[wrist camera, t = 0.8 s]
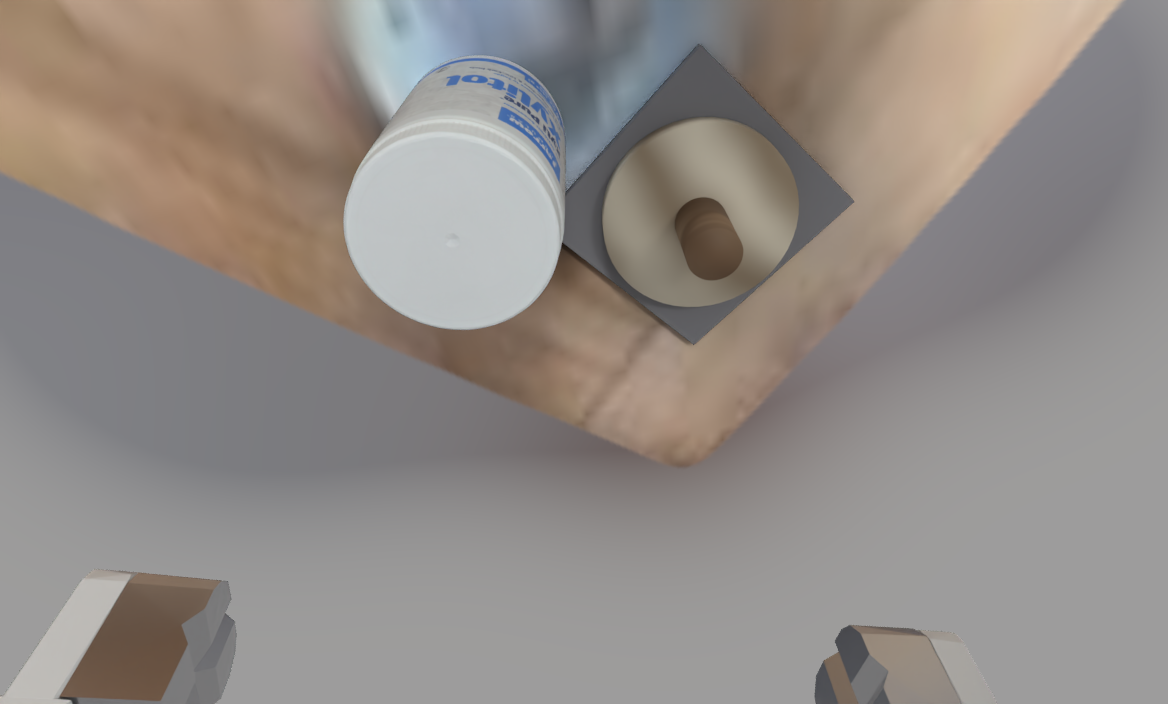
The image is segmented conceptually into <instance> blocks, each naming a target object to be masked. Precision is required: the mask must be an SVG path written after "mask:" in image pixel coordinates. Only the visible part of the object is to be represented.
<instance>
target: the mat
mask: <svg viewBox="0 0 1168 704" xmlns="http://www.w3.org/2000/svg"><path fill="white" fill-rule="evenodd" d="M695 117H719V118H726V119H730V120H733V121H737V122H740V123H742V124H744V125H747V126H749V127H751V128H753V129H754V130H756V131H757V132H759V133H761V134H762V135H763V136H764V137H765V138H766V139H768V140H769V141H770V142H771V143H772V145H773V146H774V147H775V148H776V149H777V150H778V152H779V153H780V154H781V155H782V157H783V158H784V159H785V161H786V163H787V164H788V166H789V167H790V169H791V172H792V174H793V176H794V179H795V182H796V186H797V190H798V198H799V215H798V221H797V227H796V230H795V233H794V236H793V239H792V241H791V243H790V246H789V248H788V250H787V251H786V253H785V255H784V256H783V258H782V260H781V261H780V262H779V263H778V265H777V266H776V267H775V268H774V270H773V271H772V272H771V273H770V274H769V275H768V276H767V277H766V278H765V279H763V280H762V281H761V282H760V283H758V284H757V285H756V286H755V287H753V288H751V289H750V290H748V291H747V292H745V293H743V294H741V295H739V296H737V297H735V298H733V299H730V300H727V301H725V302H722V303H718V304H714V305H709V306H701V307H681V306H673V305H669V304H664V303H661V302H658V301H656V300H653V299H651V298H649V297H647V296H645V295H643V294H641V293H640V292H638V291H637V290H636V289H634V288H633V287H632V286H631V285H630V284H628V283H627V282H626V281H625V280H624V279H623V277H622V276H621V275H620V274H619V273H618V271H617V270H616V268H615V266H614V265H613V263H612V261H611V259H610V256H609V254H608V252H607V248H606V244H605V240H604V233H603V226H602V206H603V199H604V195H605V191H606V188H607V185H608V182H609V180H610V178H611V176H612V173H613V172H614V170H615V169H616V167H617V165H618V164H619V162H620V161H621V160H622V158H623V157H624V156H625V155H626V153H627V152H628V151H629V150H630V149H631V148H632V147H633V146H634V145H635V144H636V143H637V142H639V141H640V140H641V139H643V138H644V137H645V136H647V135H648V134H650V133H652V132H653V131H655V130H657V129H659V128H660V127H663V126H665V125H668V124H670V123H672V122H676V121H680V120H683V119H688V118H695ZM853 202H854V201H853V199H852V198H851V197H850V196H849V195H848V194H847V193H846V192H845V191H844V190H843V189H842V188H841V187H840V186H839V185H838V184H837V183H836V182H835V181H834V180H833V179H832V178H831V177H830V176H829V175H828V174H827V173H826V172H825V171H824V170H823V169H822V168H821V167H820V166H819V165H818V164H817V163H816V162H815V161H814V160H813V159H812V158H811V157H810V156H809V155H808V154H807V153H806V152H805V151H804V150H803V149H802V148H801V147H800V145H799V144H798V143H797V142H796V141H795V140H794V139H793V138H792V137H791V136H790V135H789V134H788V133H787V132H786V131H785V130H784V129H783V128H782V127H781V126H780V125H779V124H778V123H777V122H776V121H775V120H774V119H773V118H772V117H771V116H770V115H769V114H768V113H767V112H766V111H765V110H764V109H763V108H762V107H761V106H760V105H759V104H758V103H757V102H756V101H755V100H754V99H753V98H752V97H751V96H750V95H749V94H748V93H747V92H746V91H745V90H744V89H743V88H742V87H741V86H740V84H739V83H738V82H737V81H736V80H735V79H734V78H733V77H732V76H731V75H730V74H729V73H728V72H727V71H726V70H725V69H724V68H723V67H722V66H721V65H720V64H719V63H718V62H717V61H716V60H715V59H714V58H713V57H712V56H711V55H710V54H709V53H708V52H707V51H706V50H705V49H704V48H703V47H702V46H701V45H700V44H698V45H697V47H696V48H695V49H694V50H693V51H692V52H691V53H690V54H689V56H688V57H687V58H686V59H685V60H684V61H683V62H682V63H681V64H680V66H679V67H678V68H677V69H676V70H675V71H674V72H673V73H672V74H671V76H670V77H669V78H668V79H667V80H666V81H665V82H664V83H663V85H662V86H661V87H660V88H659V89H658V90H657V91H656V92H655V93H654V95H653V96H652V97H651V98H650V99H649V100H648V101H647V102H646V104H645V105H644V106H643V107H642V108H641V109H640V110H639V111H638V112H637V114H636V115H635V116H634V117H633V118H632V119H631V120H630V121H629V122H628V124H627V125H626V126H625V127H624V128H623V129H622V130H621V131H620V133H619V134H618V135H617V136H616V137H615V138H614V139H613V140H612V141H611V143H610V144H609V145H608V146H607V147H606V148H605V149H604V150H603V152H602V153H601V154H600V155H599V156H598V157H597V158H596V159H595V160H594V162H593V163H592V164H591V165H590V166H589V167H588V168H587V169H586V170H585V172H584V173H583V174H582V175H581V176H580V177H579V178H578V179H577V181H576V182H575V183H574V184H573V185H572V186H571V187H570V188H569V189H568V191H567V192H566V193H565V223H564V235H563V241H562V242H563V243H564V244H565V245H566V246H568V247H569V248H570V249H572V250H573V251H574V252H575V253H577V254H578V255H579V256H581V257H582V258H583V259H584V260H586V261H587V262H588V263H590V264H591V265H592V266H593V267H595V268H596V269H597V270H599V271H600V272H601V273H602V274H604V275H605V276H606V277H608V278H609V279H610V280H611V281H613V282H614V283H615V284H616V285H618V286H619V287H620V288H622V289H623V290H624V291H625V292H627V293H628V294H629V295H631V296H632V297H633V298H634V299H636V300H637V301H638V302H640V303H641V304H642V305H643V306H645V307H646V308H647V309H649V310H650V311H651V312H652V313H654V314H655V315H656V316H657V317H659V318H660V319H661V320H663V321H664V322H665V323H666V324H668V325H669V326H670V327H672V328H673V329H674V330H675V331H677V332H678V333H679V334H681V335H682V336H683V337H684V338H686V339H687V340H688V341H690V342H691V343H692V344H693V345H694V344H695V343H697V342H698V341H699V340H700V339H701V338H702V337H703V336H704V335H706V334H707V333H708V332H709V331H710V330H711V329H712V328H713V327H714V326H716V325H717V324H718V323H719V322H720V321H721V320H722V319H723V318H725V317H726V316H727V315H728V314H729V313H730V312H731V311H732V310H734V309H735V308H736V307H737V306H738V305H739V304H740V303H741V302H742V301H744V300H745V299H746V298H747V297H748V296H749V295H750V294H751V293H753V292H754V291H755V290H756V289H757V288H758V287H759V286H760V285H762V284H763V283H764V282H765V281H766V280H767V279H768V278H769V277H771V276H772V275H773V274H774V273H775V272H776V271H777V270H778V269H779V268H781V267H782V266H783V265H784V264H785V263H786V262H787V261H788V260H790V259H791V258H792V257H793V256H794V255H795V254H796V253H797V252H799V251H800V250H801V249H802V248H803V247H804V246H805V245H806V244H807V243H809V242H810V241H811V240H812V239H813V238H814V237H815V236H816V235H818V234H819V233H820V232H821V231H822V230H823V229H824V228H825V227H827V226H828V225H829V224H830V223H831V222H832V221H833V220H834V219H835V218H837V217H838V216H839V215H840V214H841V213H842V212H843V211H844V210H846V209H847V208H848V207H849V206H850V205H851V204H852V203H853Z"/></svg>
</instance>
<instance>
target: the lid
mask: <svg viewBox="0 0 1168 704" xmlns="http://www.w3.org/2000/svg"><path fill="white" fill-rule="evenodd" d="M798 215H799V198H798V190H797V186H796V182H795V179H794V176H793V174H792V172H791V169H790V167H789V166H788V164H787V163H786V161H785V159H784V158H783V157H782V155H781V154H780V153H779V152H778V150H777V149H776V148H775V147H774V146H773V145H772V143H771V142H770V141H769V140H768V139H766V138H765V137H764V136H763V135H762V134H761V133H759V132H757V131H756V130H754V129H753V128H751V127H749V126H747V125H744V124H742V123H740V122H737V121H733V120H730V119H726V118H719V117H695V118H688V119H683V120H680V121H676V122H672V123H670V124H668V125H665V126H663V127H660V128H659V129H657V130H655V131H653V132H652V133H650V134H648V135H647V136H645V137H644V138H643V139H641V140H640V141H639V142H637V143H636V144H635V145H634V146H633V147H632V148H631V149H630V150H629V151H628V152H627V153H626V155H625V156H624V157H623V158H622V160H621V161H620V162H619V164H618V165H617V167H616V169H615V170H614V172H613V173H612V176H611V178H610V180H609V182H608V185H607V188H606V191H605V195H604V199H603V206H602V226H603V233H604V240H605V244H606V248H607V252H608V254H609V256H610V259H611V261H612V263H613V265H614V266H615V268H616V270H617V271H618V273H619V274H620V275H621V276H622V277H623V279H624V280H625V281H626V282H627V283H628V284H630V285H631V286H632V287H633V288H634V289H636V290H637V291H638V292H640V293H641V294H643V295H645V296H647V297H649V298H651V299H653V300H656V301H658V302H661V303H664V304H669V305H673V306H681V307H701V306H709V305H714V304H718V303H722V302H725V301H727V300H730V299H733V298H735V297H737V296H739V295H741V294H743V293H745V292H747V291H748V290H750V289H751V288H753V287H755V286H756V285H757V284H758V283H760V282H761V281H762V280H763V279H765V278H766V277H767V276H768V275H769V274H770V273H771V272H772V271H773V270H774V268H775V267H776V266H777V265H778V263H779V262H780V261H781V260H782V258H783V256H784V255H785V253H786V251H787V250H788V248H789V246H790V243H791V241H792V239H793V236H794V233H795V230H796V227H797V221H798Z"/></svg>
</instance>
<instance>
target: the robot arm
mask: <svg viewBox="0 0 1168 704" xmlns="http://www.w3.org/2000/svg"><path fill="white" fill-rule="evenodd" d="M230 601H231V594H230V589H229V584H228V581H221V580H210V579H200V578H188V577H179V576H168V575H157V574H147V573H137V572H126V571H113V570H100V569H94V570H93V571H92V572H90V573H89V574H88V575H87V576H86V577H84V578H83V579H82V580H81V581H80V582H79V584H78V585H77V587H76V588H75V589H74V591H73V592H72V594H71V596H70V597H69V598H68V600H67V601H66V603H65V604H64V606H63V607H62V609H61V610H60V612H59V613H58V615H57V616H56V618H55V619H54V621H53V622H52V624H51V625H50V627H49V628H48V630H47V631H46V633H45V634H44V636H43V637H42V639H41V640H40V641H39V643H38V644H37V646H36V647H35V649H34V650H33V652H32V653H31V655H30V656H29V658H28V659H27V661H26V662H25V664H24V665H23V667H22V668H21V670H20V671H19V673H18V674H17V676H16V677H15V679H14V680H13V682H12V683H11V684H10V686H9V687H8V689H7V690H6V692H5V693H4V695H0V704H214V703H216V702H217V701H218V700H219V699H221V697H222V693H223V691H224V689H225V686H226V684H227V681H228V678H229V675H230V672H231V668H232V663H233V659H234V655H235V649H236V627H235V621H234V620H233V619H231V618H230V617H229V616H228V615H227V614H226V613H225V612H226V610H227V608H228V605H229V603H230ZM835 643H836V646H837V648H838V651H839V652H838V653H836V654H834V655H833V656H831V657H829V658H827V659H826V660H824V661H823V663H822V665H821V667H820V669H819V671H818V673H817V675H816V684H815V702H816V704H997V702H996V700H995V698H994V696H993V695H992V693H991V691H990V689H989V687H988V685H987V684H986V682H985V680H984V678H983V676H982V675H981V673H980V671H979V669H978V667H977V666H976V664H975V662H974V660H973V658H972V656H971V655H970V654H969V651H968V649H967V647H966V646H965V644H964V642H963V641H962V640H961V639H960V638H959V637H958V636H957V635H956V634H955V633H951V632H942V631H924V630H915V629H909V628H893V627H873V626H857V625H849V626H847V627H845V628H843V629H841V631H840V633H839V635H838V636H837V638H836V640H835Z"/></svg>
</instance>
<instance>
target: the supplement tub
mask: <svg viewBox="0 0 1168 704" xmlns="http://www.w3.org/2000/svg"><path fill="white" fill-rule="evenodd" d="M565 153H566V145H565V130H564V124H563V120H562V117H561V114H560V111H559V109H558V106H557V104H556V102H555V101H554V99H553V97H552V96H551V94H550V93H549V91H548V90H547V88H546V87H545V86H544V85H543V84H542V83H541V82H540V81H539V80H538V79H537V78H536V77H535V76H534V75H533V74H531V73H530V72H529V71H527V70H526V69H524V68H523V67H521V66H519V65H517V64H515V63H513V62H511V61H508V60H505V59H502V58H498V57H493V56H483V55H476V56H464V57H459V58H455V59H451V60H448V61H446V62H444V63H442V64H440V65H438V66H437V67H435V68H434V69H432V70H431V71H430V72H428V73H427V74H426V75H425V76H424V77H423V78H422V79H421V80H420V81H419V82H418V84H417V85H416V86H415V87H414V89H413V90H412V91H411V93H410V94H409V95H408V97H407V98H406V100H405V101H404V102H403V104H402V105H401V106H400V108H399V109H398V111H397V112H396V113H395V115H394V116H393V117H392V119H391V120H390V122H389V123H388V124H387V126H386V127H385V129H384V130H383V131H382V133H381V134H380V136H379V137H378V139H377V140H376V141H375V143H374V144H373V146H372V147H371V149H370V150H369V152H368V153H367V155H366V156H365V158H364V159H363V161H362V163H361V164H360V166H359V168H358V170H357V172H356V174H355V176H354V179H353V181H352V185H351V188H350V190H349V193H348V196H347V199H346V203H345V209H344V235H345V241H346V245H347V248H348V252H349V255H350V258H351V260H352V262H353V264H354V266H355V268H356V270H357V271H358V273H359V275H360V277H361V278H362V279H363V281H364V282H365V283H366V285H367V286H368V287H369V288H370V289H371V290H372V292H373V293H374V294H375V295H376V296H377V297H378V298H380V299H381V300H382V301H383V302H384V303H385V304H387V305H388V306H389V307H391V308H392V309H394V310H395V311H397V312H399V313H400V314H402V315H404V316H406V317H408V318H410V319H412V320H415V321H417V322H420V323H423V324H426V325H429V326H433V327H437V328H443V329H452V330H472V329H480V328H485V327H489V326H493V325H496V324H499V323H502V322H504V321H506V320H509V319H511V318H512V317H514V316H516V315H517V314H519V313H521V312H522V311H524V310H525V309H526V308H528V307H529V306H530V305H531V304H532V303H533V302H534V301H535V300H536V299H537V298H538V297H539V296H540V294H541V293H542V292H543V291H544V289H545V288H546V286H547V285H548V283H549V281H550V279H551V277H552V275H553V273H554V270H555V267H556V264H557V260H558V256H559V253H560V250H561V245H562V241H563V235H564V223H565Z"/></svg>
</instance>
